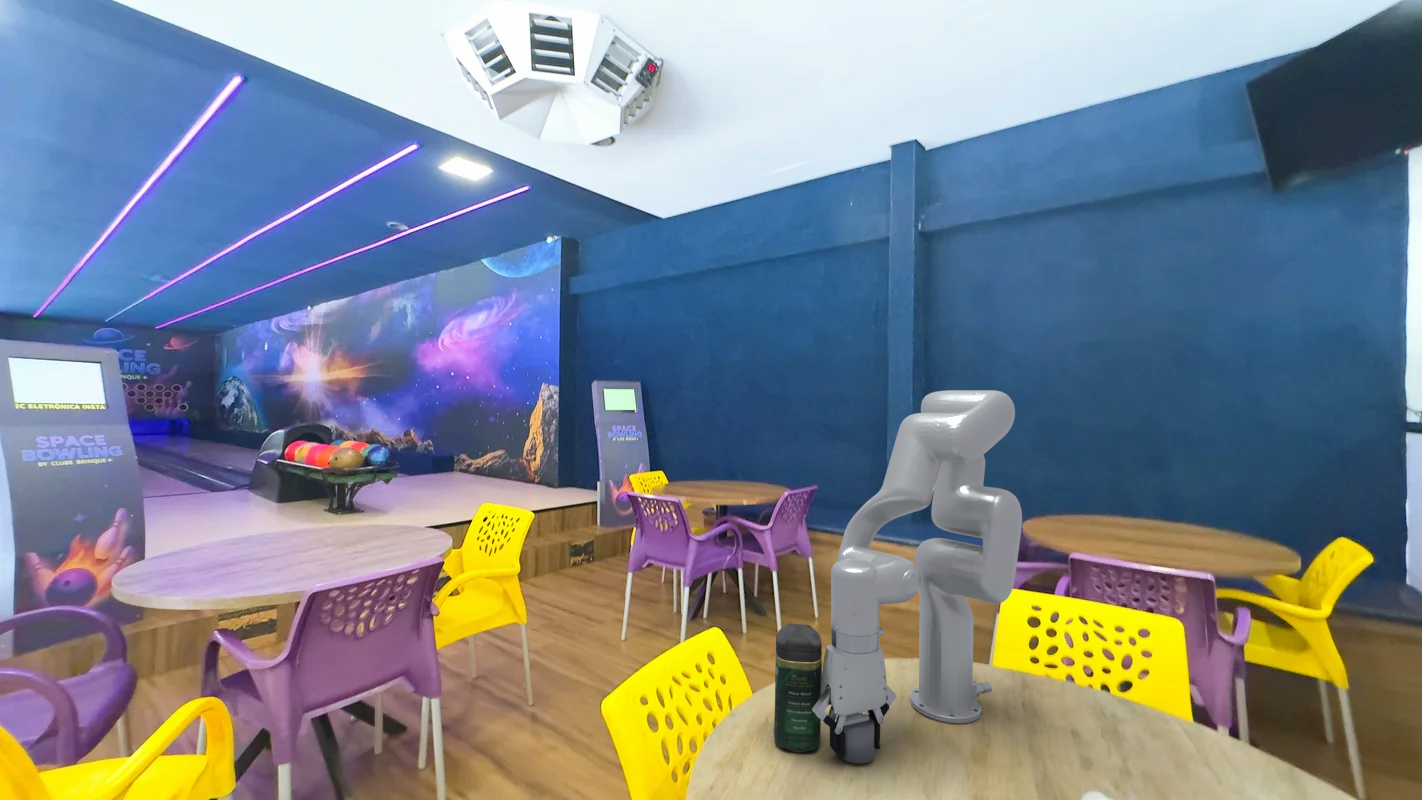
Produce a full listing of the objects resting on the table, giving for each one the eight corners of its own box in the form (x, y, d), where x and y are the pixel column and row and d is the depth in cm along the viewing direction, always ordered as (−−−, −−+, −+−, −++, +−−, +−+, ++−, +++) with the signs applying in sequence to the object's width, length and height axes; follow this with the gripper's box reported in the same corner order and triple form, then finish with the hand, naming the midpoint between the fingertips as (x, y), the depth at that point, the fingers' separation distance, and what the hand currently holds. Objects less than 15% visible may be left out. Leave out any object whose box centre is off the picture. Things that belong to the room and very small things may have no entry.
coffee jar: (822, 756, 98) (823, 642, 98) (773, 752, 99) (774, 639, 99) (819, 725, 108) (821, 620, 108) (775, 721, 109) (776, 618, 109)
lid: (860, 738, 103) (860, 705, 102) (882, 758, 97) (882, 723, 97) (829, 746, 100) (829, 712, 100) (850, 766, 95) (850, 731, 95)
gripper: (884, 623, 105) (885, 726, 105) (796, 638, 99) (797, 748, 99) (913, 639, 98) (914, 750, 98) (820, 656, 92) (821, 774, 92)
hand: (855, 748), depth 99 cm, fingers closed on lid, 5 cm apart
